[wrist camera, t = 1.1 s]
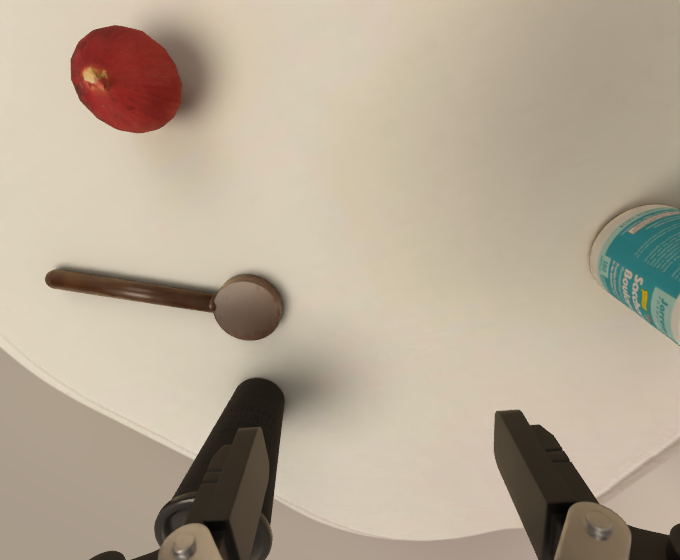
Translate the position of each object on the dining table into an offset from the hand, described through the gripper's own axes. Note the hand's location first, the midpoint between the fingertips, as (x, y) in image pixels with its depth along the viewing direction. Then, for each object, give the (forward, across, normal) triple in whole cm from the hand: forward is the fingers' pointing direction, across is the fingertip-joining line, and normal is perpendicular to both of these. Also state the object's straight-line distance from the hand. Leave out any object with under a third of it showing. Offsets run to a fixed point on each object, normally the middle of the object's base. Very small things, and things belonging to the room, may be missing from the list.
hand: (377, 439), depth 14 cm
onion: (+20, +13, -14) cm, 28 cm away
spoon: (+20, +17, +1) cm, 27 cm away
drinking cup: (+21, +11, +13) cm, 27 cm away
